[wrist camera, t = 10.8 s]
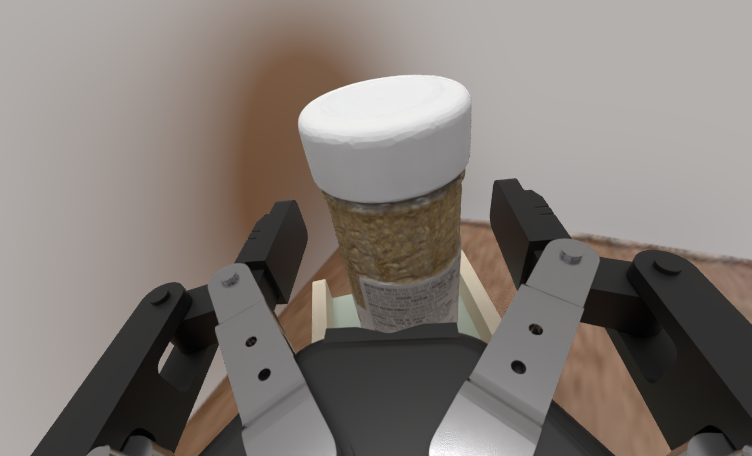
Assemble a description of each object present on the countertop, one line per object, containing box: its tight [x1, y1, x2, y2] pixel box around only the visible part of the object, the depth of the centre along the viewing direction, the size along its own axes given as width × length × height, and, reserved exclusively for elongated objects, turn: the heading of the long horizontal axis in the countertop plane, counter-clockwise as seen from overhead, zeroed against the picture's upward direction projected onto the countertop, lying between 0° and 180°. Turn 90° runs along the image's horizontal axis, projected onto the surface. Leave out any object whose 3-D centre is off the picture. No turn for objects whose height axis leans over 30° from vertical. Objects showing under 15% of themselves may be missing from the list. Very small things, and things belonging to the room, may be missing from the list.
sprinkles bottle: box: [298, 75, 471, 333], centre depth 12 cm, size 5×5×14 cm
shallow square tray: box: [312, 250, 502, 344], centre depth 17 cm, size 10×10×5 cm
